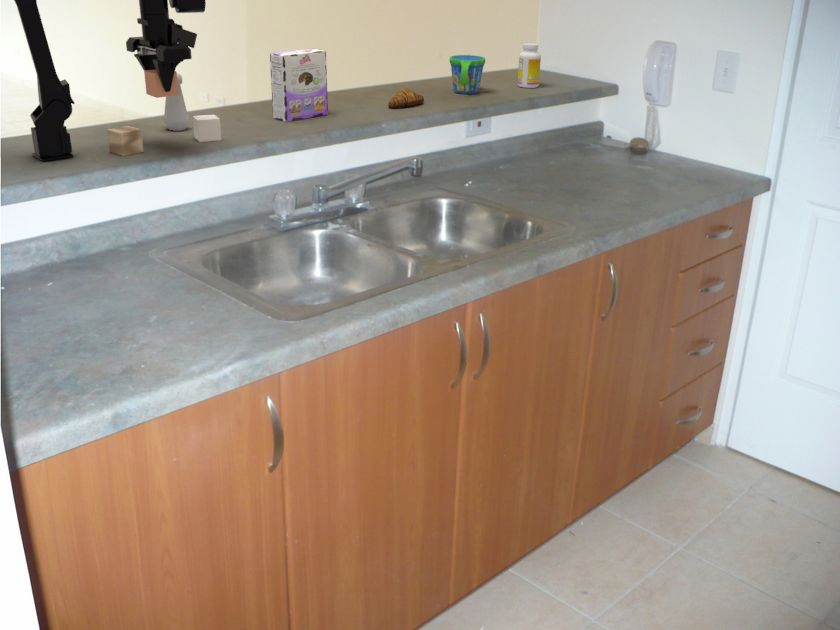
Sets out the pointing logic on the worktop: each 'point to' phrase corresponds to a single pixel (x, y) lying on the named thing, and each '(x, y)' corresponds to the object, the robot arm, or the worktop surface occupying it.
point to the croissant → (405, 99)
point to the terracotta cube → (159, 85)
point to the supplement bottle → (529, 66)
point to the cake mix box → (299, 84)
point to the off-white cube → (207, 128)
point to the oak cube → (125, 140)
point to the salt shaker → (176, 110)
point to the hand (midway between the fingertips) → (162, 89)
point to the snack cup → (466, 73)
